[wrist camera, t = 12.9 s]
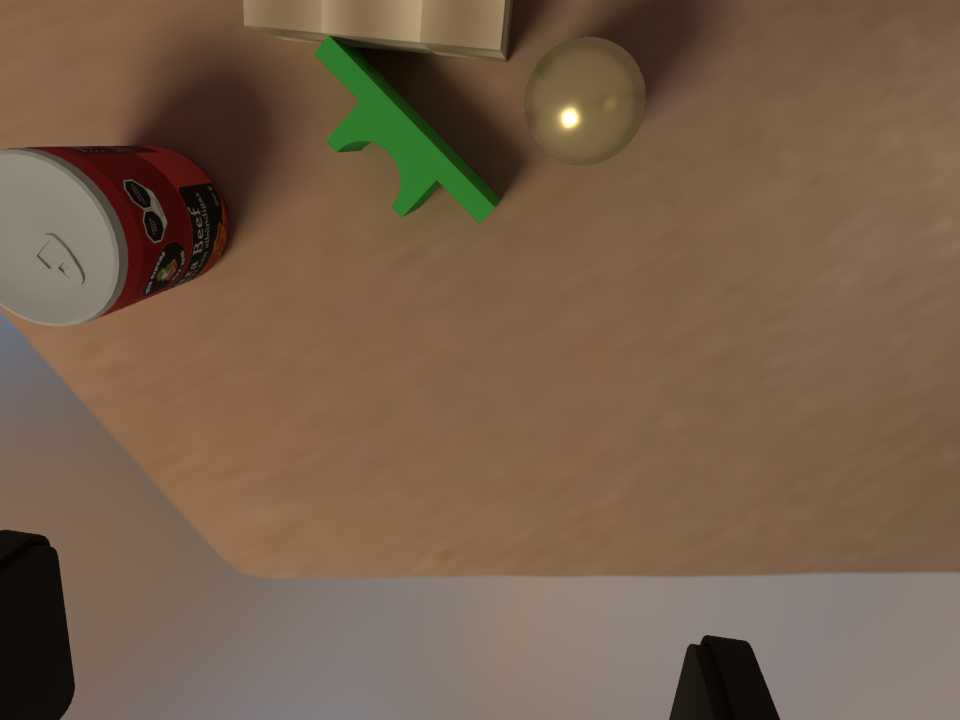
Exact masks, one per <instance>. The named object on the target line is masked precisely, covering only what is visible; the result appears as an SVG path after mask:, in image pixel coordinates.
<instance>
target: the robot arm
mask: <svg viewBox="0 0 960 720" xmlns="http://www.w3.org/2000/svg"><path fill="white" fill-rule="evenodd" d="M74 691H75V683H74V675H73V667H72V660H71V652H70V644H69V636H68V629H67V621H66V613H65V606H64V598H63V591H62V583H61V575H60V567H59V560H58V554H57V551H56V550H55V549H54V548H53V547H50V543H49V541H48V539H47V538H46V537H45V536H42V535H38V534H31V533H24V532H18V531H11V530H1V531H0V720H60V718H61V717H62V716H63V715H64V713H65V712H66V711H67V709H68V707H69V705H70V704H71V701H72V698H73V695H74ZM669 720H780V718H779V716H778V713H777V711H776V708H775V705H774V703H773V700H772V698H771V695H770V693H769V690H768V688H767V685H766V683H765V680H764V677H763V675H762V672H761V670H760V668H759V665H758V662H757V660H756V657H755V655H754V652H753V650H752V648H751V646H750V644H749V643H748V642H747V641H743V640H736V639H729V638H723V637H716V636H709V635H706V636H704V637H703V639H702V641H701V644H700V645H696V644H690V645H689V647H688V648H687V651H686V655H685V659H684V663H683V668H682V671H681V675H680V679H679V683H678V687H677V691H676V695H675V699H674V703H673V707H672V711H671V715H670V719H669Z"/></svg>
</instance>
